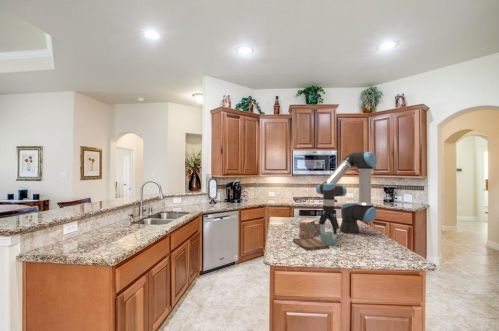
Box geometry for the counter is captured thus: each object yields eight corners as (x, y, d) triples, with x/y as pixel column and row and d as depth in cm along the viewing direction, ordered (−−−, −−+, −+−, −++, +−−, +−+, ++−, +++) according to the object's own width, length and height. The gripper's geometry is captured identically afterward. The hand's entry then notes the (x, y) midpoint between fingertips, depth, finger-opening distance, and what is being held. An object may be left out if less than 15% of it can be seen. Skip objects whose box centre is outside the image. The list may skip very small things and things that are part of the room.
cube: (330, 241, 181) (330, 231, 182) (336, 244, 175) (336, 234, 175) (321, 242, 179) (321, 232, 179) (327, 245, 173) (327, 234, 173)
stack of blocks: (313, 232, 206) (313, 217, 206) (320, 234, 202) (320, 218, 202) (299, 238, 190) (299, 221, 191) (306, 239, 186) (306, 222, 186)
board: (312, 240, 185) (312, 237, 185) (329, 248, 166) (329, 245, 166) (292, 241, 180) (292, 239, 180) (307, 250, 161) (307, 247, 161)
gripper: (314, 203, 188) (313, 232, 188) (335, 208, 164) (334, 241, 164) (323, 203, 190) (322, 231, 190) (344, 207, 166) (344, 240, 166)
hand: (328, 236), depth 177 cm, fingers open, 13 cm apart
